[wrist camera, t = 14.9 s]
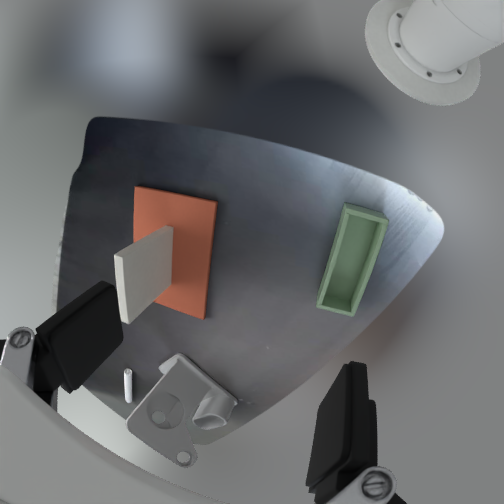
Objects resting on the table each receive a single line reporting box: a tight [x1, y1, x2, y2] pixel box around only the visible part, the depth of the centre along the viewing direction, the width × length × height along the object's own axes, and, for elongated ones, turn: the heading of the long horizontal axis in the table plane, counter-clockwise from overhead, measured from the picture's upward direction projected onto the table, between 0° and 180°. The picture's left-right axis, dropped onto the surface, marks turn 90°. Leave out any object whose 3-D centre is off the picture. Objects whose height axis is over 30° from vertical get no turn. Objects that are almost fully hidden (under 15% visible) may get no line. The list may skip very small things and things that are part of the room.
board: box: [114, 225, 174, 324], centre depth 36 cm, size 10×1×12 cm, turn 171°
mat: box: [134, 186, 218, 320], centre depth 42 cm, size 20×14×1 cm
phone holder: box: [126, 353, 238, 468], centre depth 45 cm, size 17×10×18 cm, turn 46°
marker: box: [124, 369, 132, 403], centre depth 62 cm, size 18×2×2 cm, turn 161°
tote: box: [316, 202, 389, 317], centre depth 33 cm, size 14×5×4 cm, turn 171°
